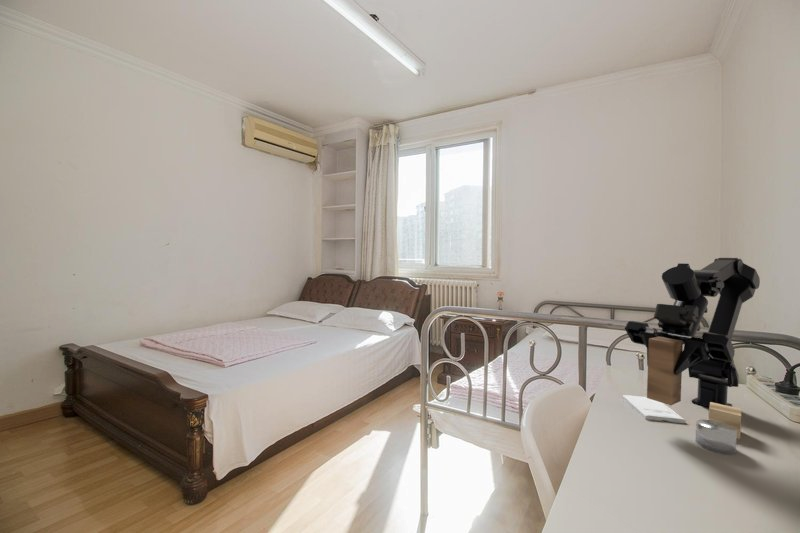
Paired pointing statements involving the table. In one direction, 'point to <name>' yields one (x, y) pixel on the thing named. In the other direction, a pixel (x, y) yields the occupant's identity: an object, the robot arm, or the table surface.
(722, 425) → the grey tin
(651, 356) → the walnut block
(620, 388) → the table surface
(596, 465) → the table surface
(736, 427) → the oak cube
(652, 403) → the external hard drive
